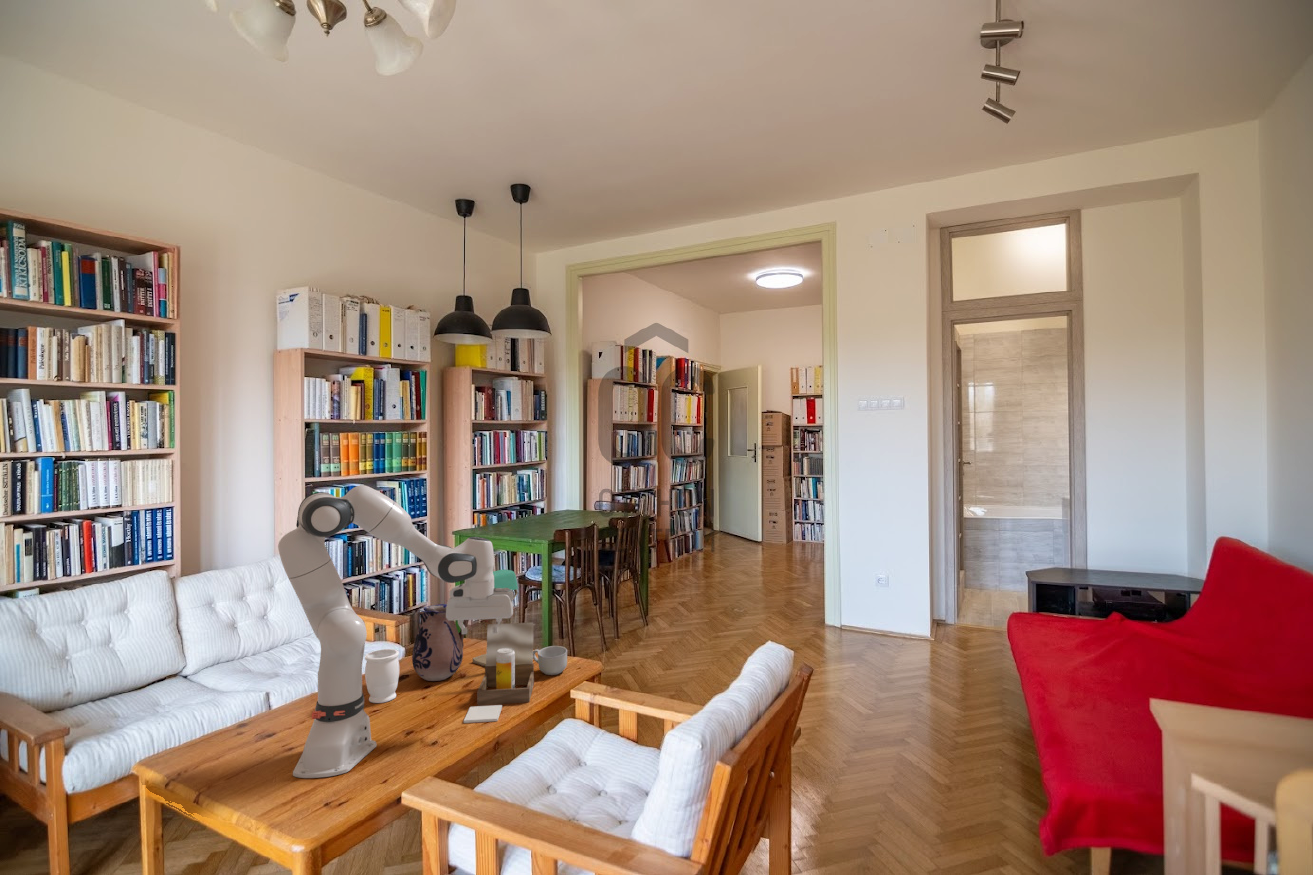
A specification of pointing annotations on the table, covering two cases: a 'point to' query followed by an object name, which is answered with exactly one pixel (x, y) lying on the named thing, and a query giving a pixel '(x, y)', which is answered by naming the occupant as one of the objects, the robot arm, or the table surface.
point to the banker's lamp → (500, 581)
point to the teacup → (551, 659)
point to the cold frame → (522, 644)
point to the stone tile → (483, 714)
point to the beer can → (505, 668)
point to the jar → (382, 674)
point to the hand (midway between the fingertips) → (480, 633)
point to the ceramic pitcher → (437, 645)
